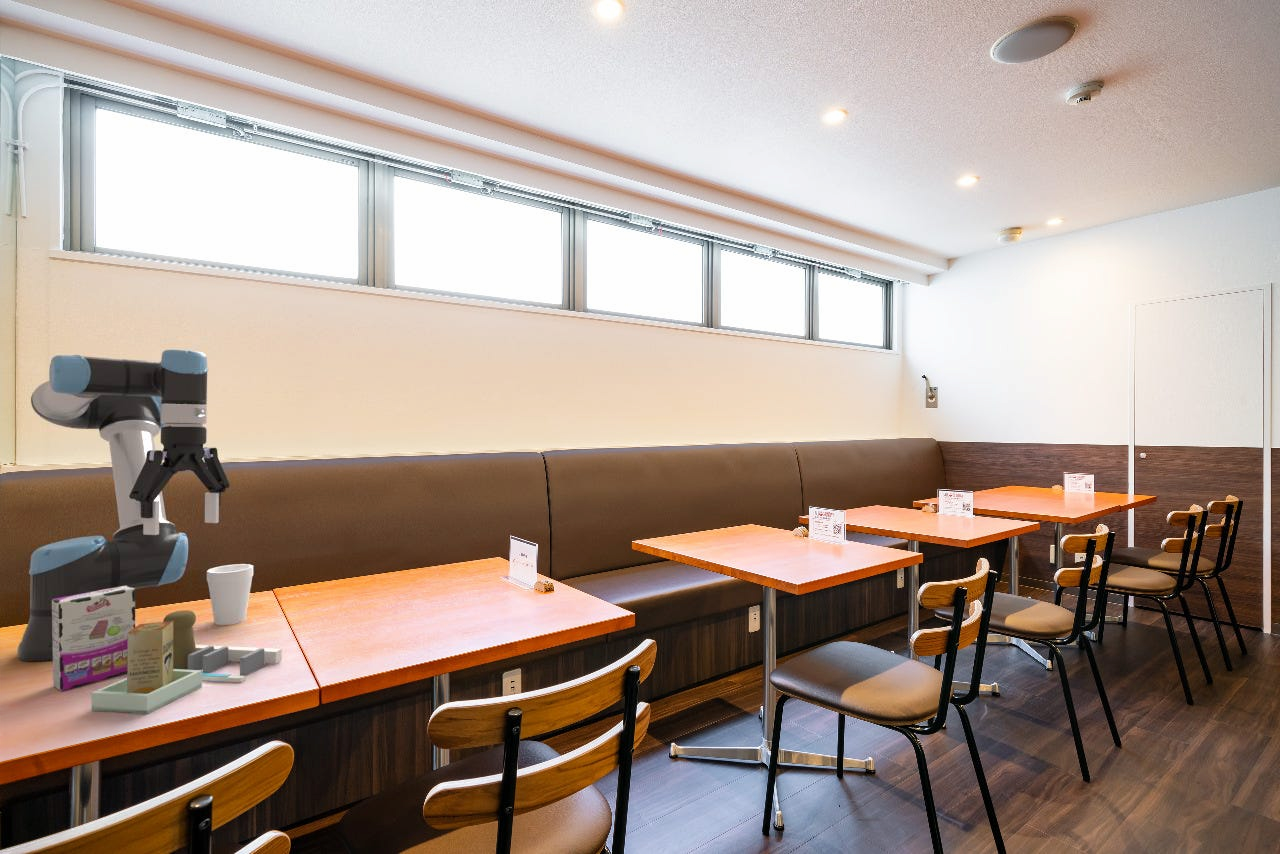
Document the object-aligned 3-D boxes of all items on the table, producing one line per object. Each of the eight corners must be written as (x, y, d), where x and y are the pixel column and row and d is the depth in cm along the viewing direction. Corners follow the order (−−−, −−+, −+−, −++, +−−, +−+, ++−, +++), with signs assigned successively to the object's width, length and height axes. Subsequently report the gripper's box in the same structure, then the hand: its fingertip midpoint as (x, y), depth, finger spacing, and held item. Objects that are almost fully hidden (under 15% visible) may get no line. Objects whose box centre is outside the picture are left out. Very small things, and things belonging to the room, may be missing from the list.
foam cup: (235, 627, 142) (235, 573, 142) (197, 627, 142) (197, 573, 142) (261, 614, 151) (261, 564, 151) (225, 614, 151) (225, 564, 152)
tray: (91, 710, 100) (91, 692, 100) (150, 683, 110) (150, 667, 110) (147, 714, 99) (147, 696, 99) (201, 686, 109) (201, 670, 109)
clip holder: (127, 675, 114) (128, 657, 114) (177, 655, 124) (177, 638, 124) (241, 682, 111) (241, 663, 111) (281, 660, 121) (281, 643, 121)
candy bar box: (127, 666, 119) (127, 584, 119) (136, 671, 116) (137, 587, 116) (50, 686, 109) (50, 597, 109) (59, 693, 107) (59, 602, 107)
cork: (182, 673, 115) (182, 616, 115) (151, 673, 115) (152, 616, 115) (205, 661, 121) (205, 607, 121) (176, 660, 121) (176, 607, 121)
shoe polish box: (173, 686, 108) (173, 620, 108) (162, 698, 103) (162, 629, 103) (139, 691, 106) (139, 624, 106) (127, 703, 101) (127, 632, 101)
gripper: (139, 426, 109) (138, 541, 109) (249, 425, 134) (248, 519, 134) (105, 425, 110) (104, 539, 110) (219, 424, 135) (218, 517, 135)
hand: (183, 528), depth 122 cm, fingers open, 13 cm apart
